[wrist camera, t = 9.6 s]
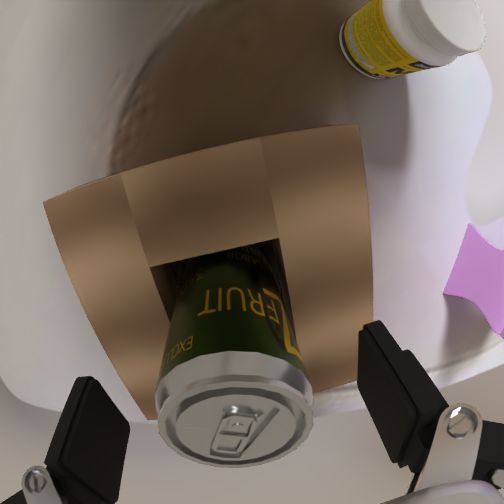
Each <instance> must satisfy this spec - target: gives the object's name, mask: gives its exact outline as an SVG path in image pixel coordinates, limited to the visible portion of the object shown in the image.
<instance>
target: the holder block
mask: <svg viewBox="0 0 504 504" xmlns="http://www.w3.org/2000/svg"><path fill="white" fill-rule="evenodd" d="M43 204H44V208H45V211H46V214H47V217H48V220H49V223H50V226H51V229H52V232H53V235H54V238H55V241H56V244H57V246H58V249H59V252H60V254H61V257H62V260H63V262H64V265H65V267H66V270H67V272H68V275H69V277H70V279H71V282H72V284H73V286H74V289H75V291H76V293H77V295H78V298H79V300H80V302H81V304H82V306H83V309H84V311H85V313H86V315H87V317H88V319H89V321H90V323H91V325H92V327H93V329H94V331H95V333H96V335H97V337H98V339H99V341H100V343H101V344H102V346H103V348H104V350H105V352H106V354H107V355H108V357H109V359H110V361H111V363H112V364H113V366H114V368H115V369H116V371H117V373H118V375H119V376H120V378H121V380H122V381H123V383H124V385H125V386H126V388H127V389H128V391H129V393H130V394H131V396H132V397H133V399H134V400H135V402H136V403H137V405H138V406H139V408H140V409H141V411H142V412H143V414H144V415H145V417H146V418H147V420H155V419H158V414H157V412H156V404H155V391H156V386H157V382H158V377H159V372H160V367H161V363H162V358H163V354H164V349H165V345H166V341H167V336H168V332H169V328H170V324H171V319H172V315H173V311H174V307H175V303H176V299H177V295H178V291H179V288H178V285H177V282H176V279H175V276H174V273H173V270H172V267H171V264H170V262H174V261H178V260H183V259H187V258H192V257H196V256H200V255H205V254H209V253H214V252H218V251H223V250H227V249H231V248H236V247H240V246H245V245H249V244H254V243H258V242H263V241H267V240H272V242H273V247H274V252H275V257H276V263H277V268H278V273H279V279H280V284H281V290H282V295H283V301H284V306H285V310H286V313H287V316H288V319H289V322H290V325H291V328H292V331H293V333H294V336H295V339H296V342H297V345H298V348H299V351H300V354H301V357H302V359H303V362H304V365H305V368H306V371H307V374H308V377H309V380H310V383H311V386H312V393H315V392H319V391H322V390H326V389H330V388H333V387H336V386H340V385H343V384H347V383H350V382H353V381H356V380H357V373H358V333H359V331H360V330H363V325H365V324H368V323H371V322H373V270H372V247H371V230H370V217H369V205H368V195H367V185H366V176H365V168H364V160H363V153H362V146H361V139H360V133H359V127H358V124H346V125H330V126H322V127H315V128H308V129H302V130H295V131H289V132H283V133H277V134H272V135H266V136H261V137H256V138H251V139H246V140H241V141H236V142H231V143H227V144H222V145H218V146H214V147H209V148H205V149H201V150H197V151H193V152H189V153H185V154H181V155H177V156H174V157H170V158H166V159H163V160H159V161H156V162H152V163H149V164H145V165H142V166H139V167H135V168H132V169H129V170H126V171H123V172H120V173H117V174H113V175H110V176H107V177H104V178H102V179H99V180H96V181H93V182H90V183H87V184H84V185H82V186H79V187H76V188H74V189H71V190H69V191H67V192H64V193H62V194H60V195H58V196H55V197H53V198H51V199H49V200H47V201H44V202H43Z"/></svg>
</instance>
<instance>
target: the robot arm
mask: <svg viewBox="0 0 504 504" xmlns="http://www.w3.org/2000/svg"><path fill="white" fill-rule="evenodd" d="M357 385H358V389H359V391H360V394H361V396H362V398H363V400H364V402H365V404H366V406H367V409H368V411H369V412H370V415H371V417H372V419H373V422H374V424H375V426H376V428H377V430H378V433H379V435H380V437H381V439H382V441H383V444H384V446H385V448H386V451H387V453H388V455H389V457H390V460H391V461H392V463H396V462H397V463H398V465H399V467H400V468H402V467H404V466H407V465H408V466H409V468H410V470H411V472H413V476H412V478H411V481H410V484H409V486H408V489H407V491H406V493H405V495H404V496H401V497H398V498H396V499H393V500H390V501H387V502H384V503H381V504H504V498H503V496H502V495H501V494H500V492H499V491H498V490H497V489H501V488H503V489H504V424H502V423H496V422H490V421H484V420H482V416H481V414H480V412H479V411H478V410H477V409H476V408H475V407H473V406H472V405H469V404H465V403H457V404H454V405H451V406H449V405H448V404H447V402H446V401H445V399H444V398H443V396H442V395H441V393H440V392H439V390H438V389H437V387H436V386H435V384H434V383H433V381H432V380H431V378H430V377H429V376H428V374H427V373H426V371H425V370H424V368H423V367H422V366H421V364H420V363H419V361H418V360H417V359H416V357H415V356H414V354H413V353H412V352H411V351H410V350H404V351H402V350H401V348H400V347H399V345H398V344H397V343H396V341H395V340H394V338H393V337H392V335H391V334H390V333H389V331H388V330H387V329H386V327H385V326H384V324H383V323H382V322H381V321H380V320H378V321H374V322H371V323H368V324H365V325H363V330H360V331H359V333H358V373H357ZM129 433H130V425H129V423H128V421H127V420H126V419H125V417H124V416H123V415H122V413H121V412H120V411H119V409H118V408H117V407H116V405H115V404H114V403H113V401H112V400H111V398H110V397H109V396H108V394H107V393H106V391H105V390H104V389H103V387H102V386H101V384H100V383H99V381H98V380H95V379H94V378H93V377H92V376H85V377H78V378H77V379H76V380H75V383H74V385H73V387H72V390H71V392H70V394H69V397H68V399H67V402H66V404H65V407H64V409H63V412H62V414H61V417H60V419H59V423H58V425H57V427H56V430H55V433H54V435H53V438H52V441H51V444H50V447H49V450H48V452H47V456H46V458H45V462H44V463H45V464H46V465H47V467H46V469H45V468H44V467H42V466H33V467H30V468H29V469H28V470H27V471H26V472H25V473H24V475H23V478H22V490H20V491H19V492H17V493H16V494H14V495H13V496H11V497H10V498H8V499H6V500H5V501H3V502H2V503H0V504H115V502H117V500H118V496H119V490H120V484H121V477H122V471H123V465H124V460H125V454H126V449H127V443H128V438H129Z"/></svg>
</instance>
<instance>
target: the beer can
mask: <svg viewBox="0 0 504 504" xmlns="http://www.w3.org/2000/svg"><path fill="white" fill-rule="evenodd" d="M155 404H156V412H157V414H158V427H159V434H160V435H161V437H162V438H163V440H164V441H165V443H166V444H167V445H168V446H169V447H170V448H171V449H173V450H174V451H175V452H177V453H178V454H180V455H181V456H183V457H185V458H188V459H190V460H192V461H195V462H197V463H201V464H206V465H210V466H216V467H230V468H234V467H235V468H241V467H248V466H255V465H261V464H264V463H267V462H270V461H273V460H276V459H279V458H281V457H283V456H285V455H286V454H288V453H290V452H292V451H293V450H295V449H296V448H297V447H298V446H299V445H300V444H301V443H302V442H304V440H306V439H307V437H308V435H309V433H310V431H311V429H312V426H313V416H312V409H311V407H312V404H313V395H312V386H311V383H310V380H309V377H308V374H307V371H306V368H305V365H304V362H303V359H302V357H301V354H300V351H299V348H298V345H297V342H296V339H295V336H294V333H293V331H292V328H291V325H290V322H289V319H288V316H287V313H286V310H285V308H284V305H283V302H282V299H281V296H280V293H279V291H278V288H277V285H276V282H275V279H274V276H273V274H272V271H271V268H270V265H269V263H268V261H267V259H266V258H265V256H264V254H263V253H262V252H261V251H260V250H259V249H258V248H257V247H255V246H254V245H253V244H249V245H245V246H240V247H236V248H231V249H227V250H223V251H218V252H214V253H209V254H205V255H200V256H196V257H192V258H189V259H188V261H187V264H186V266H185V269H184V272H183V276H182V280H181V284H180V288H179V291H178V295H177V299H176V303H175V307H174V311H173V315H172V319H171V324H170V328H169V332H168V336H167V341H166V345H165V349H164V354H163V358H162V363H161V367H160V372H159V377H158V382H157V386H156V391H155Z"/></svg>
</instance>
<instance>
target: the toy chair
mask: <svg viewBox="0 0 504 504" xmlns="http://www.w3.org/2000/svg"><path fill="white" fill-rule="evenodd" d="M443 294H447V295H454V296H459V297H462V298H465V299H467V300H469V301H471V302H473V303H474V304H475V305H476V306H477V307H478V308H479V309H480V310H481V312H482V313H483V315H484V316H485V318H486V320H487V321H488V323H489V325H490V327H491V328H492V330H493V331H494V332H495V333H497V334H498V335H500V336H501V337H502V338H503V339H504V250H500V249H498V248H496V247H494V246H493V245H491V244H490V243H489V242H488V241H487V240H486V239H485V238H484V237H483V236H482V235H481V234H480V233H479V232H478V230H477V229H476V228H475V227H474V226H473V225H472V224H471V223H469V224H468V227H467V230H466V233H465V236H464V239H463V242H462V245H461V248H460V251H459V253H458V256H457V259H456V262H455V264H454V267H453V269H452V272H451V274H450V277H449V279H448V282H447V284H446V287H445V289H444V292H443Z"/></svg>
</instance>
